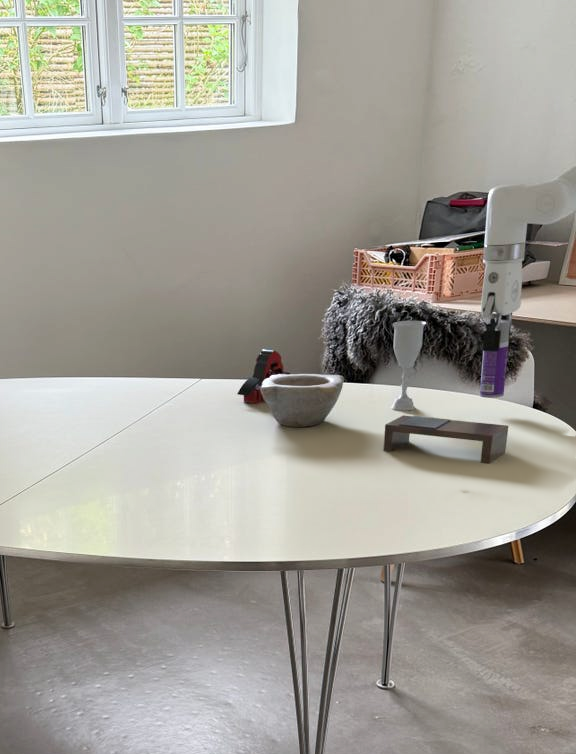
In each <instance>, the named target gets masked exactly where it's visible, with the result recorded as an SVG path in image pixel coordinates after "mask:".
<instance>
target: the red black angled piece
mask: <svg viewBox="0 0 576 754" xmlns="http://www.w3.org/2000/svg"><path fill="white" fill-rule="evenodd" d="M255 362H256V363H255V365H254V369H253V374H252V377H251V376H249V378H247V379H246V380H245V382H244V383H243V384H242V385H241V387H240V388H239V389H238V392H237V393H236V394H237V395H239V396H243V402H244V403H248V404H249V403H250V404H259V403H262V402H264V401H265V400H264V398H263V396H262V394H261V387H262V382H263V381H264V380H265V379H267V378H270V376H272V375H278V374H287V375H290V374H291V372H288V371H284V365H283V363H282V356H281V354H280V353H279V352H277V351H276V350H273V349H262V350H261V351H260V353H259V354H258V356H257V357H256V359H255Z"/></svg>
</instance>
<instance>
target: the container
mask: <svg viewBox="0 0 576 754" xmlns="http://www.w3.org/2000/svg"><path fill="white" fill-rule="evenodd" d="M495 322H496V319H495ZM509 325H510V321H509V320H501V322H500V328H499V330H501V337H500V348H499V350H498V351H483V350H482V363H481V374H480V376H481V377H480V388H479V397H480V398H485V399H486V398H487V399H494V398H495V399H497V398H501V397H503V396H504V395H505V384H506V376H507V375H506V374H507V365H508V364H507V363H508V352H509V345H508V341H509V342H510V339H509ZM510 326H511V325H510Z"/></svg>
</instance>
